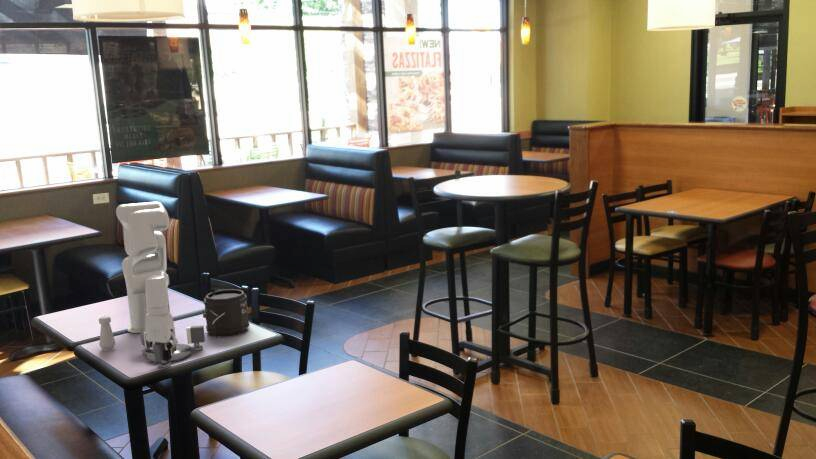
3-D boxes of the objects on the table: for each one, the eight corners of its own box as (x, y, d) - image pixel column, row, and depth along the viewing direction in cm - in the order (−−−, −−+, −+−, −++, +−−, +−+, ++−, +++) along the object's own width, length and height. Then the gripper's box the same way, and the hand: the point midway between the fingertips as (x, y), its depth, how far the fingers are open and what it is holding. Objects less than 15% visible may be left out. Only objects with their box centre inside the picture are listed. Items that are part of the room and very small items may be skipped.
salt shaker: (110, 352, 283) (106, 319, 280) (96, 351, 284) (93, 319, 281) (119, 346, 288) (115, 315, 286) (106, 346, 289) (102, 314, 287)
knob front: (155, 365, 263) (153, 344, 261) (167, 359, 268) (164, 339, 267) (161, 365, 262) (158, 345, 260) (172, 360, 267) (170, 339, 266)
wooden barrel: (203, 327, 308) (200, 291, 306) (247, 322, 314) (244, 286, 311) (205, 340, 292) (202, 302, 289) (251, 334, 297) (248, 296, 294)
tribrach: (143, 351, 282) (141, 334, 281) (204, 346, 284) (202, 330, 283) (130, 370, 262) (128, 353, 260) (195, 365, 264) (193, 348, 263)
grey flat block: (148, 347, 282) (146, 327, 281) (153, 351, 277) (151, 331, 276) (141, 348, 281) (139, 329, 279) (146, 352, 276) (144, 333, 275)
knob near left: (204, 346, 280) (202, 327, 279) (188, 347, 280) (186, 328, 278) (205, 344, 283) (203, 325, 281) (189, 345, 282) (187, 326, 281)
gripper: (132, 311, 261) (138, 360, 264) (169, 314, 255) (174, 365, 258) (147, 305, 268) (153, 353, 271) (184, 308, 261) (189, 358, 265)
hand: (163, 358), depth 265 cm, fingers open, 3 cm apart
